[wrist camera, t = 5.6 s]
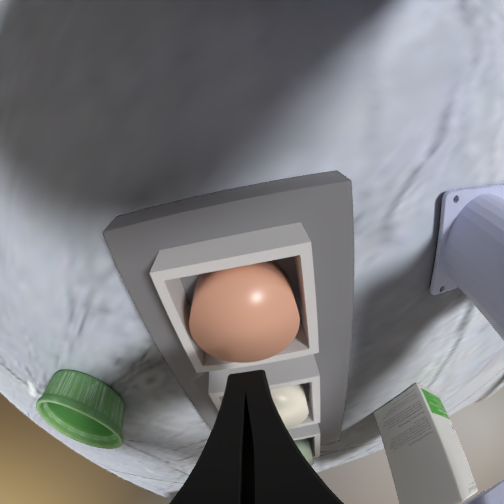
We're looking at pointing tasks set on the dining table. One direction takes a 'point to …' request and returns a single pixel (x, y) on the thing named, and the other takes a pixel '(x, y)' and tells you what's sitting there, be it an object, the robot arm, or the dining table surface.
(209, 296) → the terracotta button
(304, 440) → the sage button
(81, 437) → the ramekin
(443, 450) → the skincare box
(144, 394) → the dining table surface
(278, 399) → the cream button
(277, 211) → the button panel
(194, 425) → the dining table surface
